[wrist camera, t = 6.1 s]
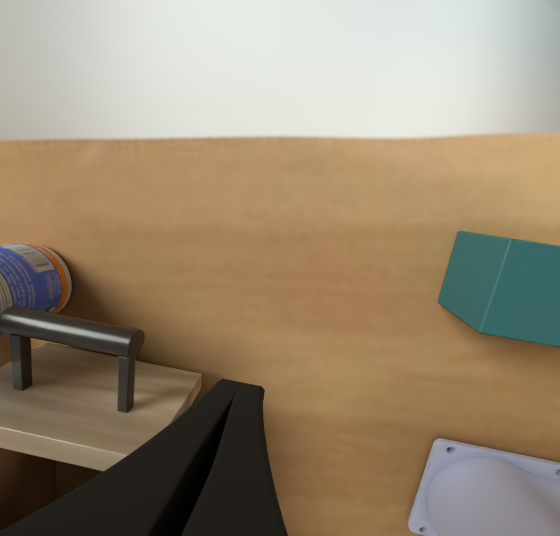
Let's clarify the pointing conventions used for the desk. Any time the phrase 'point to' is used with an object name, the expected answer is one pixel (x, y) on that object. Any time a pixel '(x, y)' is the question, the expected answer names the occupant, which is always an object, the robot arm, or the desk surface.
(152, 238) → the desk surface
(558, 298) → the block
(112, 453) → the drawer
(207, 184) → the desk surface
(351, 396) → the desk surface
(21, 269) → the pill bottle
